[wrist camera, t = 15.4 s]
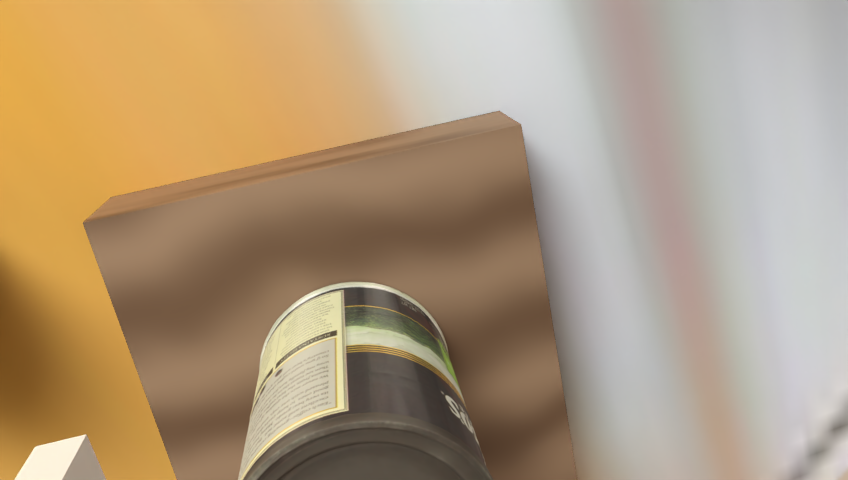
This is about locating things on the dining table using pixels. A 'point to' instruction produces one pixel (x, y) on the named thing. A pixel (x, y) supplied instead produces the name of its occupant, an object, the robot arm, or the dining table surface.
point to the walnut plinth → (337, 263)
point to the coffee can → (359, 394)
